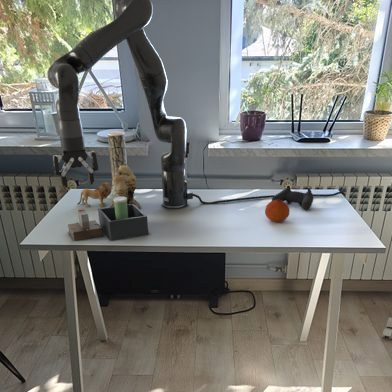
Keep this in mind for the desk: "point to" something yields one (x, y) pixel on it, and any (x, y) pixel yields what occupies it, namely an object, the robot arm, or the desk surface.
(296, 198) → the gaming controller
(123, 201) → the green tube
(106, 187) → the lion figurine
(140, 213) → the gray open box
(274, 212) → the fruit
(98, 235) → the panel
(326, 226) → the desk surface
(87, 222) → the tap knob
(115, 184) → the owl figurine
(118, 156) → the birch log
